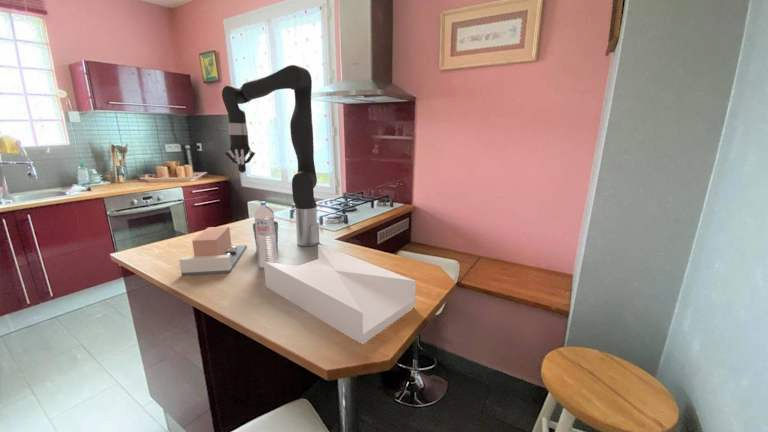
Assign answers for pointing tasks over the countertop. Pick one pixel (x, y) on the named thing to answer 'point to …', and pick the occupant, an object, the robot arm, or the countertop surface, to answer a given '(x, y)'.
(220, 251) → the terracotta block
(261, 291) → the countertop surface
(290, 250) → the countertop surface
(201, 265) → the grey piece
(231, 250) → the rear roller
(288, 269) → the building model
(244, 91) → the robot arm
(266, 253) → the water bottle
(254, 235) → the grey pot
